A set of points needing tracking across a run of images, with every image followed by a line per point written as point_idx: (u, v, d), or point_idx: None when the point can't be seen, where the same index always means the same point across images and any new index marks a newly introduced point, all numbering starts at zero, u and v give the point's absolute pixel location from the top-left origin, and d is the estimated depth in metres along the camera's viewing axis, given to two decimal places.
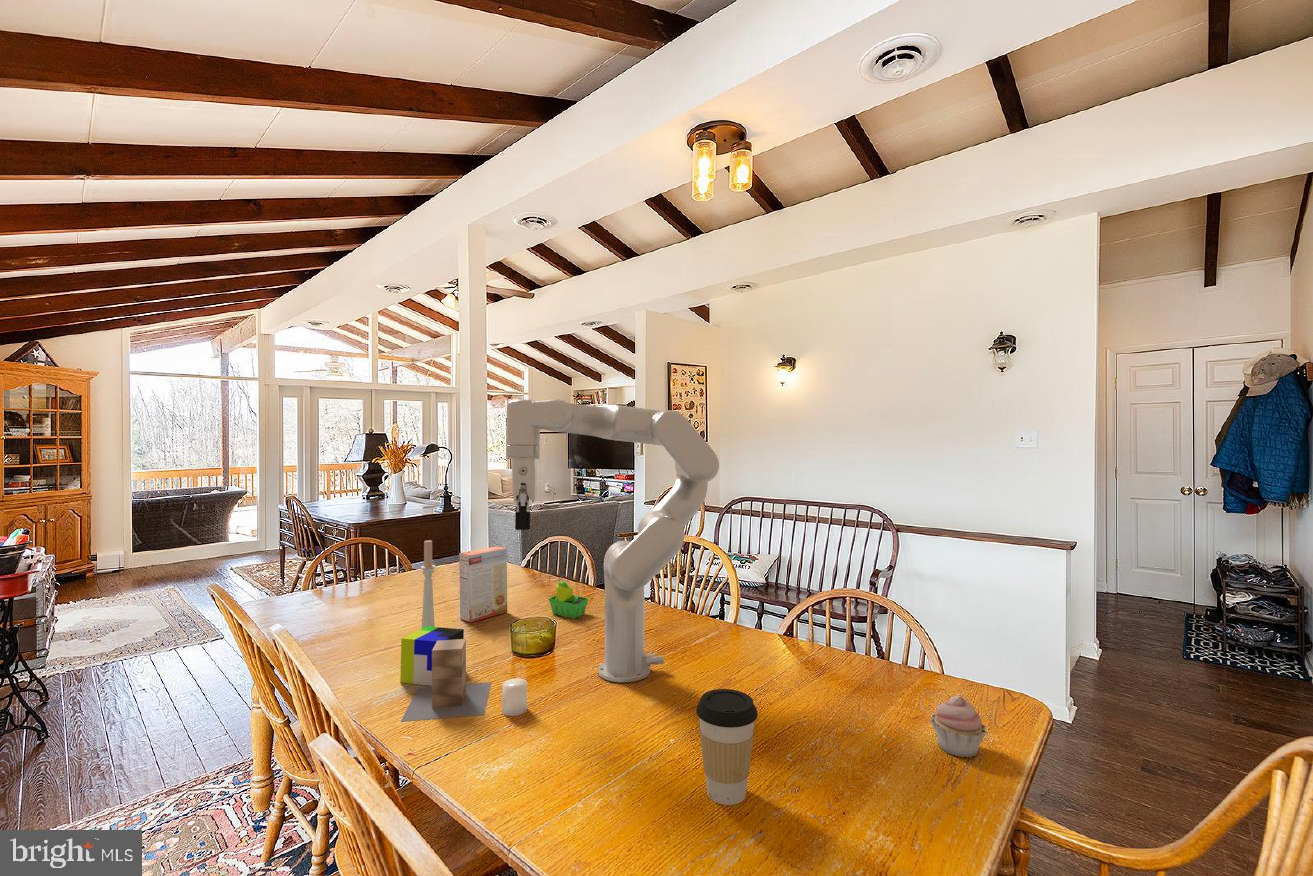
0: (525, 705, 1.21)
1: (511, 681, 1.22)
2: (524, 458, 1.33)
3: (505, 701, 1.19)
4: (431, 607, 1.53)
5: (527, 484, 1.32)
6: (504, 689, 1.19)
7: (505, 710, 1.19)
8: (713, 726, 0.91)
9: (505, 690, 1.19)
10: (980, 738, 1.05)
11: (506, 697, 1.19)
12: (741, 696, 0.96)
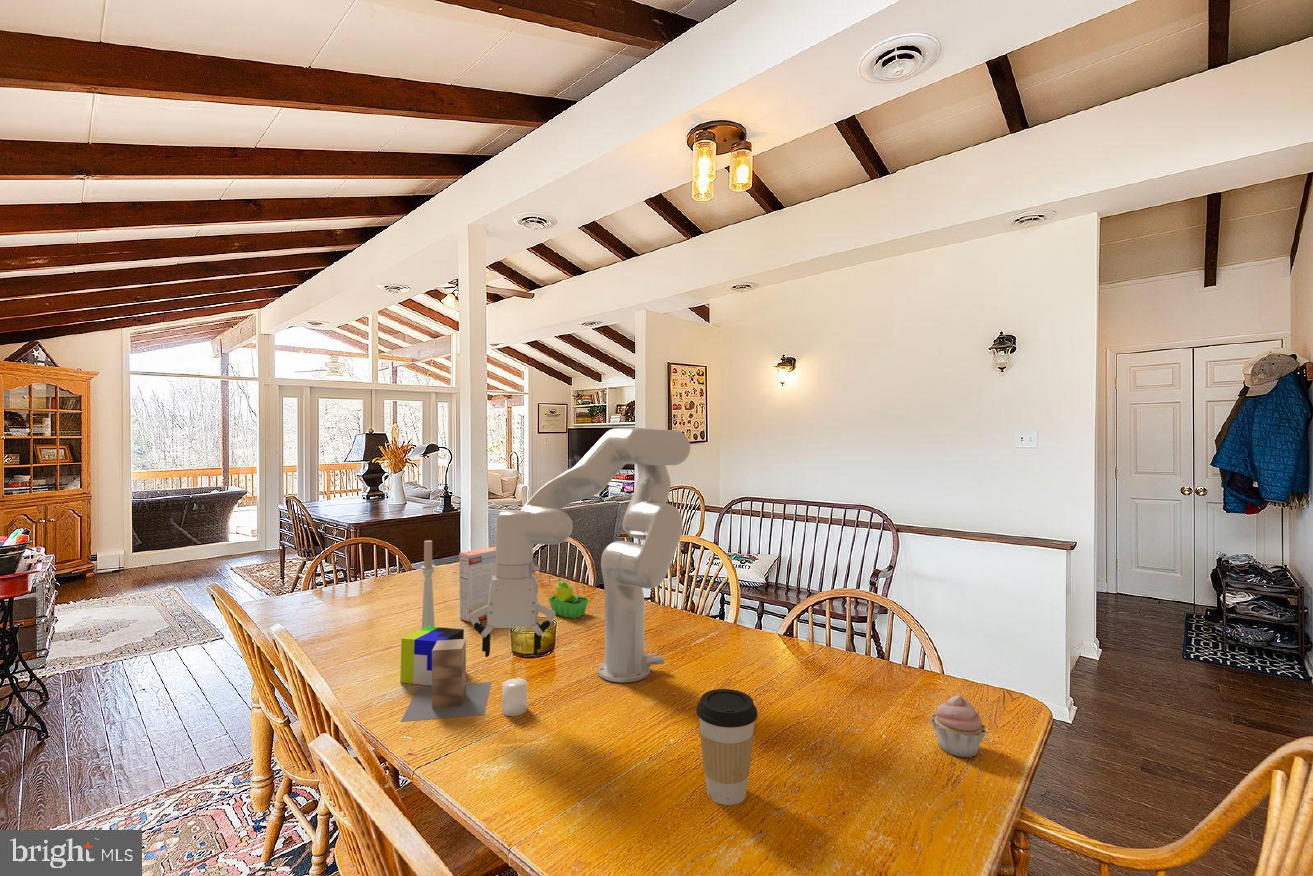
0: (525, 705, 1.21)
1: (511, 681, 1.22)
2: (532, 575, 1.22)
3: (505, 701, 1.19)
4: (431, 607, 1.53)
5: None
6: (504, 689, 1.19)
7: (505, 710, 1.19)
8: (713, 726, 0.91)
9: (505, 690, 1.19)
10: (980, 738, 1.05)
11: (506, 697, 1.19)
12: (741, 696, 0.96)
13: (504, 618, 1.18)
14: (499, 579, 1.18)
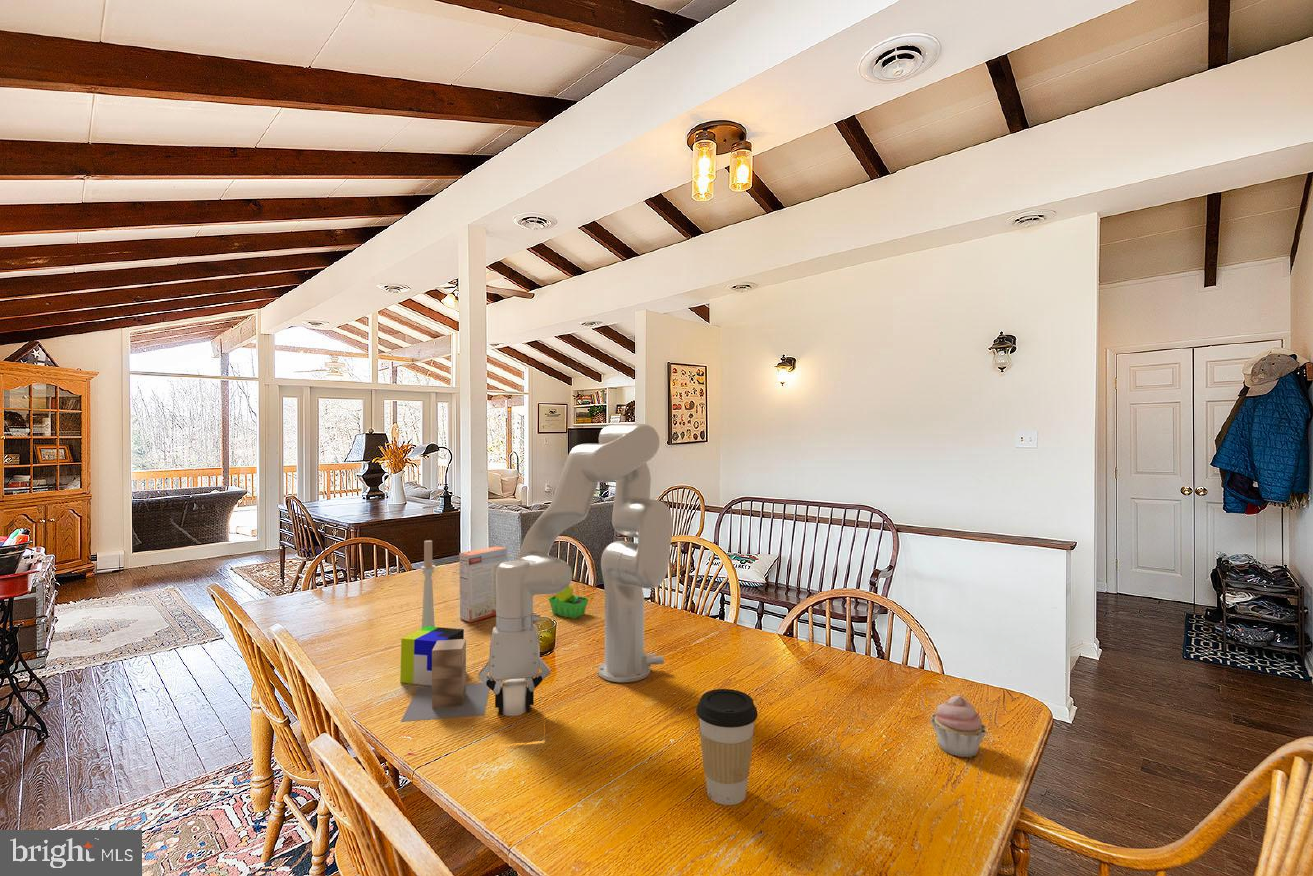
0: (525, 705, 1.21)
1: (511, 681, 1.22)
2: (533, 626, 1.22)
3: (505, 701, 1.19)
4: (431, 607, 1.53)
5: (539, 652, 1.23)
6: (504, 689, 1.19)
7: (505, 710, 1.19)
8: (713, 726, 0.91)
9: (505, 690, 1.19)
10: (980, 738, 1.05)
11: (506, 697, 1.19)
12: (741, 696, 0.96)
13: (506, 671, 1.19)
14: (500, 632, 1.18)
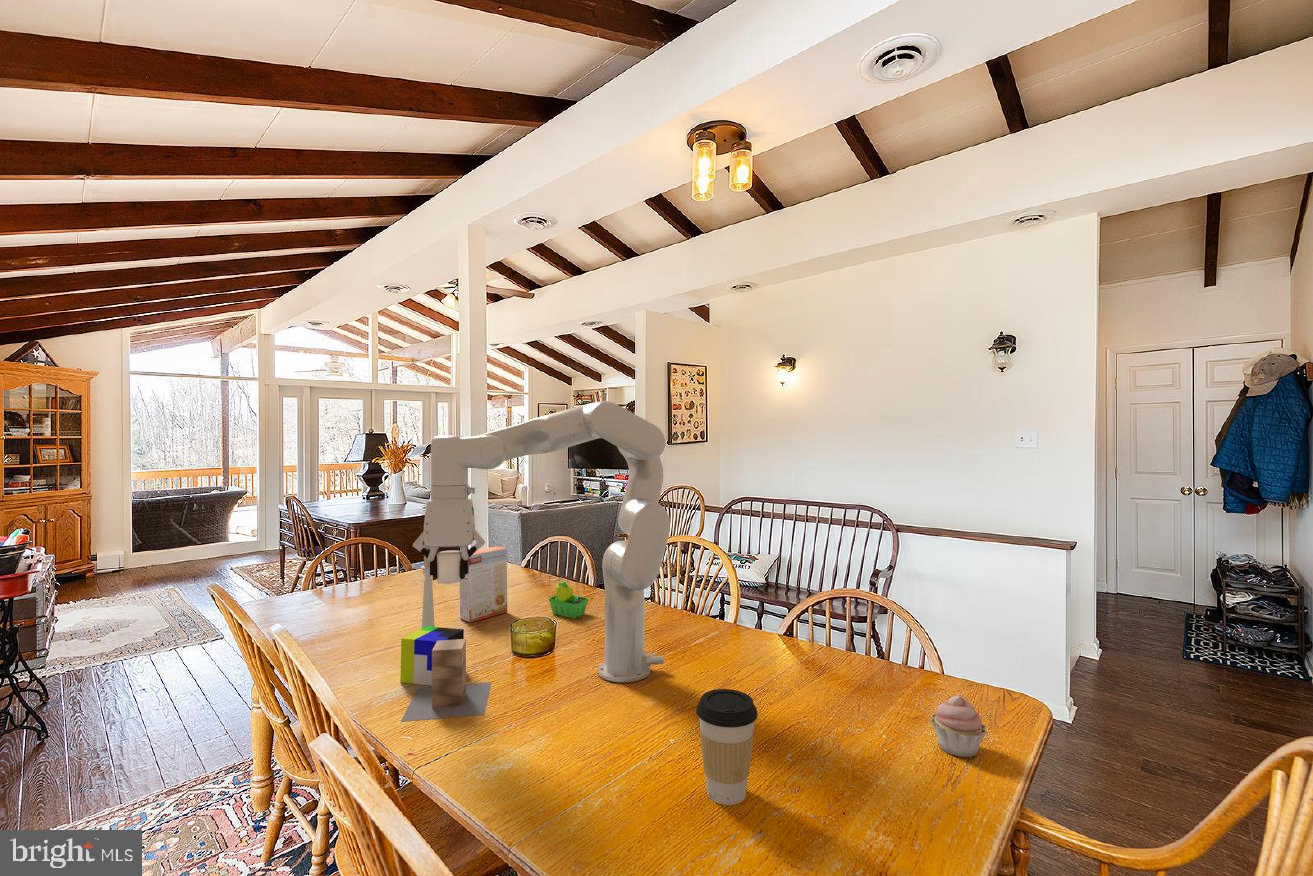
0: (459, 573, 1.25)
1: (446, 551, 1.26)
2: (467, 498, 1.26)
3: (439, 567, 1.23)
4: (431, 607, 1.53)
5: (474, 524, 1.27)
6: (438, 556, 1.23)
7: (439, 576, 1.23)
8: (713, 726, 0.91)
9: (439, 557, 1.23)
10: (980, 738, 1.05)
11: (440, 563, 1.23)
12: (741, 696, 0.96)
13: (440, 538, 1.23)
14: (434, 500, 1.22)
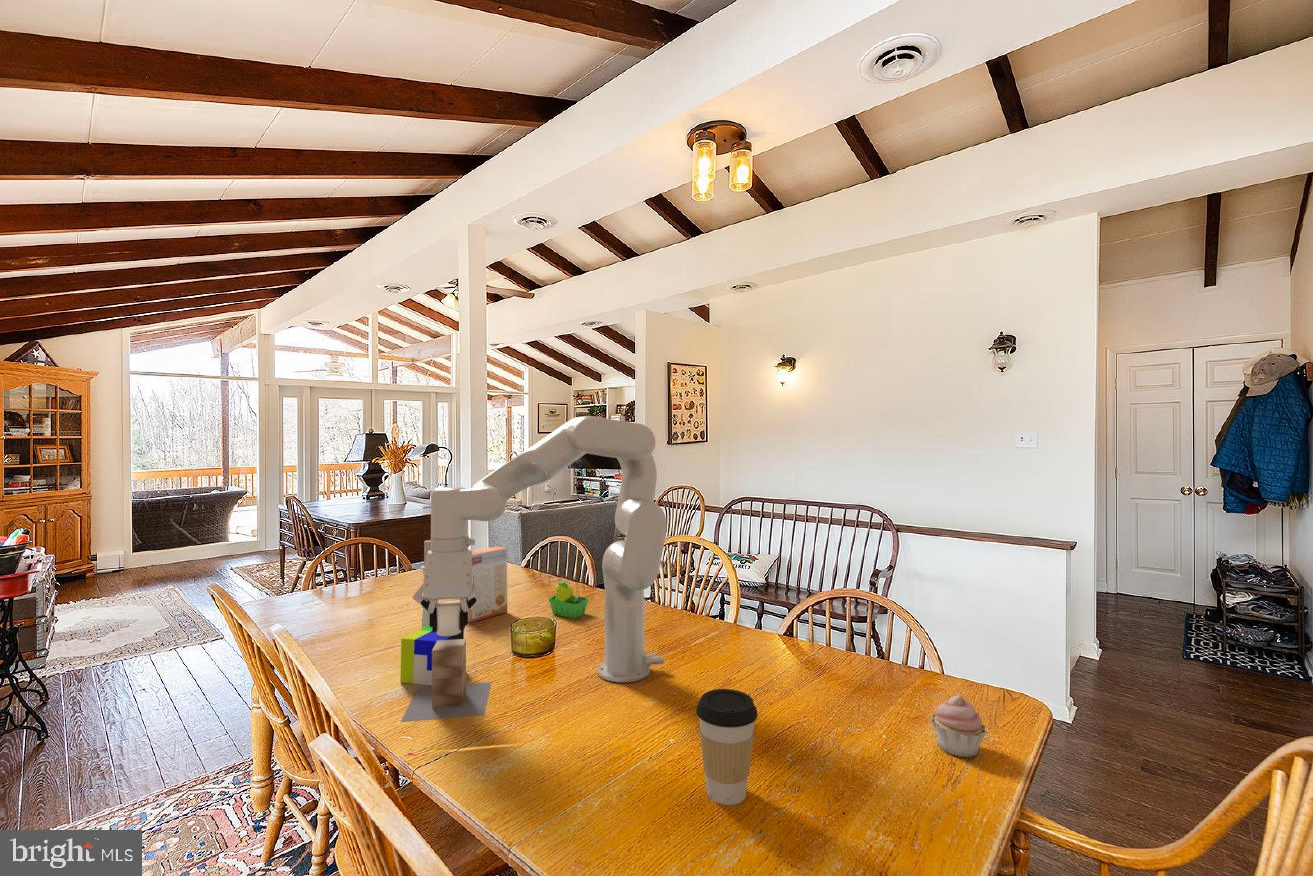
0: (459, 625, 1.25)
1: (446, 602, 1.26)
2: (467, 549, 1.26)
3: (439, 620, 1.23)
4: None
5: (474, 575, 1.27)
6: (438, 608, 1.23)
7: (439, 629, 1.23)
8: (713, 726, 0.91)
9: (439, 609, 1.23)
10: (980, 738, 1.05)
11: (440, 616, 1.23)
12: (741, 696, 0.96)
13: (440, 590, 1.23)
14: (434, 553, 1.22)
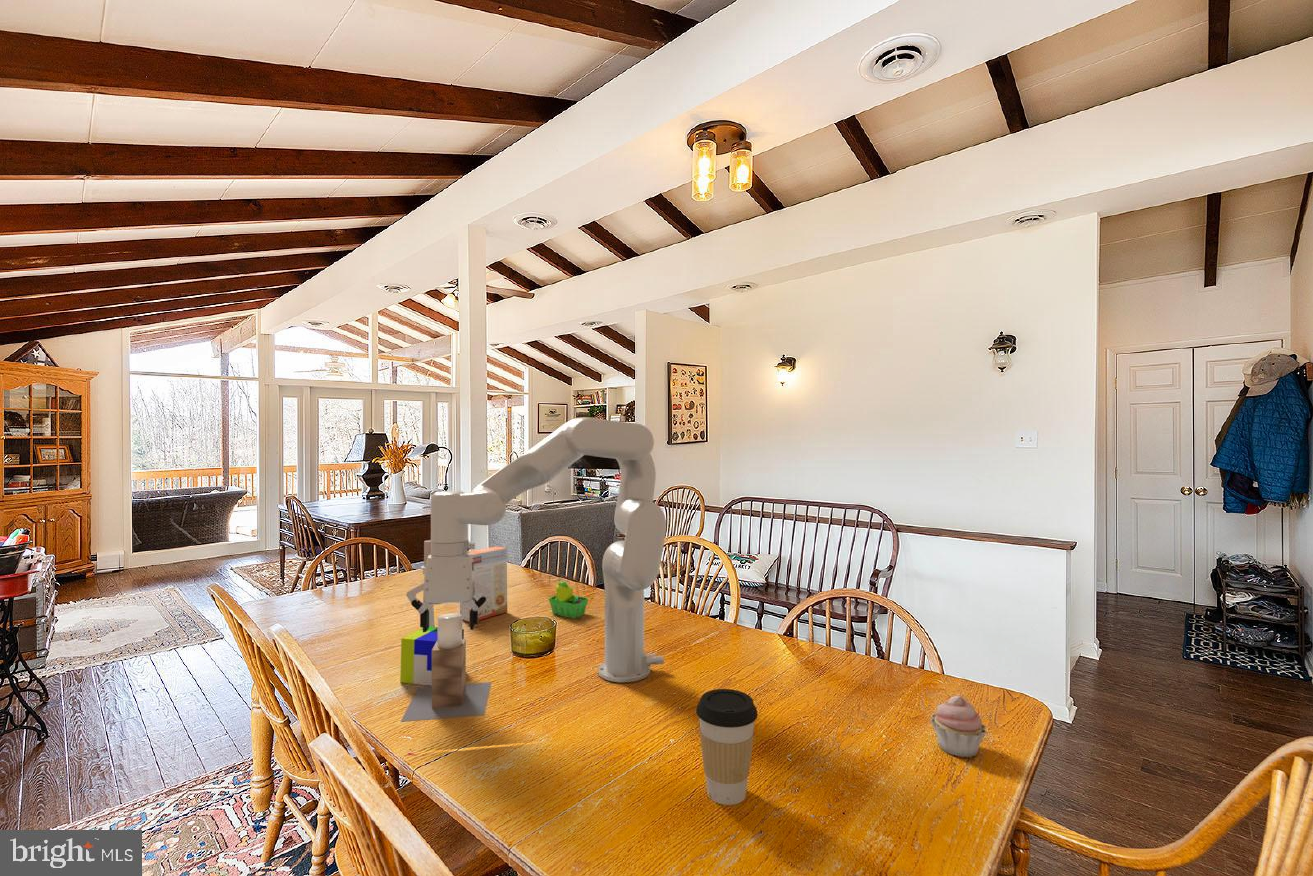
0: (460, 637, 1.25)
1: (447, 615, 1.26)
2: (467, 553, 1.26)
3: (439, 632, 1.23)
4: (431, 607, 1.53)
5: (474, 579, 1.27)
6: (439, 621, 1.24)
7: (440, 641, 1.23)
8: (713, 726, 0.91)
9: (440, 622, 1.23)
10: (980, 738, 1.05)
11: (441, 628, 1.23)
12: (741, 696, 0.96)
13: (440, 595, 1.23)
14: (434, 557, 1.22)
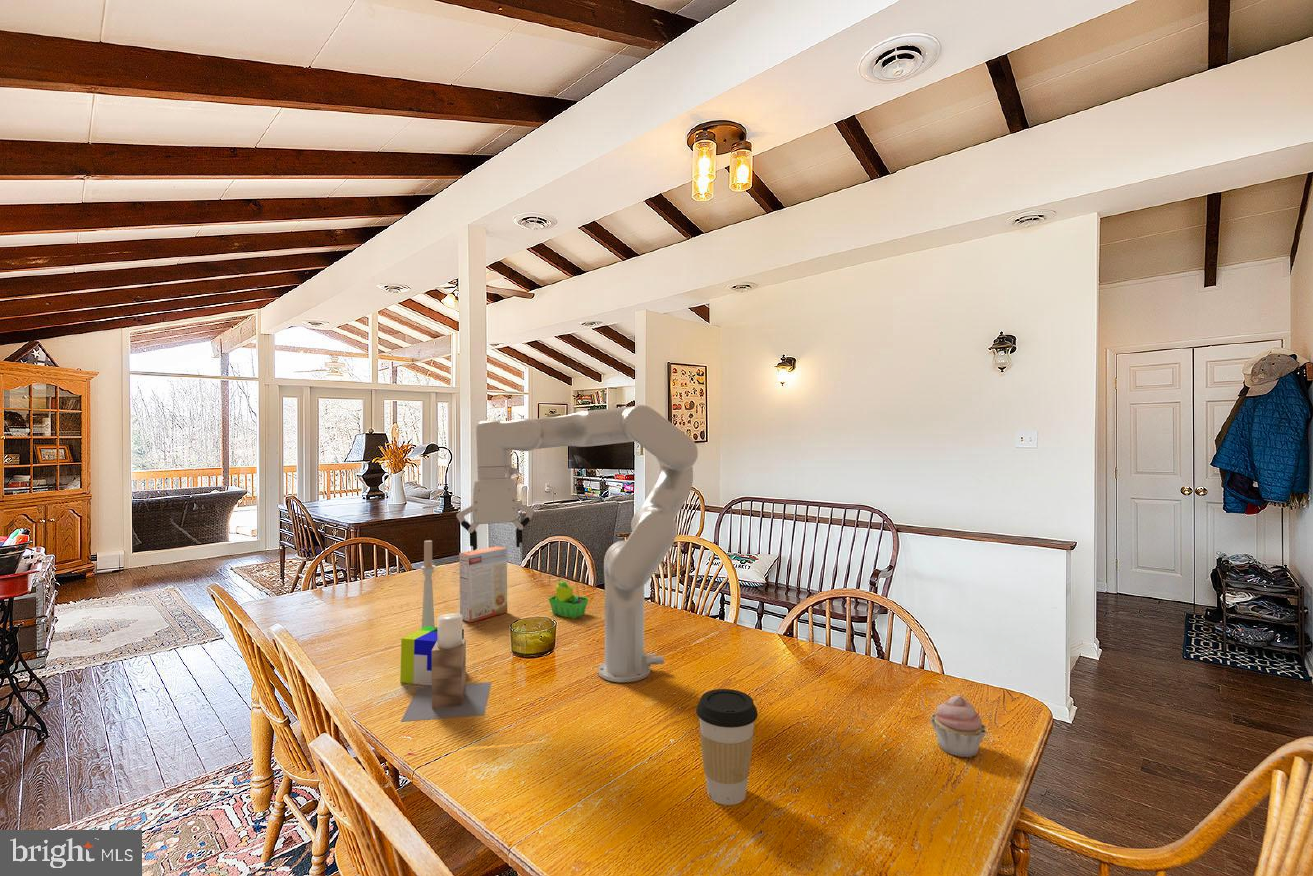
0: (460, 637, 1.25)
1: (447, 615, 1.26)
2: None
3: (439, 632, 1.23)
4: (431, 607, 1.53)
5: None
6: (439, 621, 1.24)
7: (440, 641, 1.23)
8: (713, 726, 0.91)
9: (440, 622, 1.23)
10: (980, 738, 1.05)
11: (441, 628, 1.23)
12: (741, 696, 0.96)
13: (488, 515, 1.33)
14: (481, 480, 1.32)
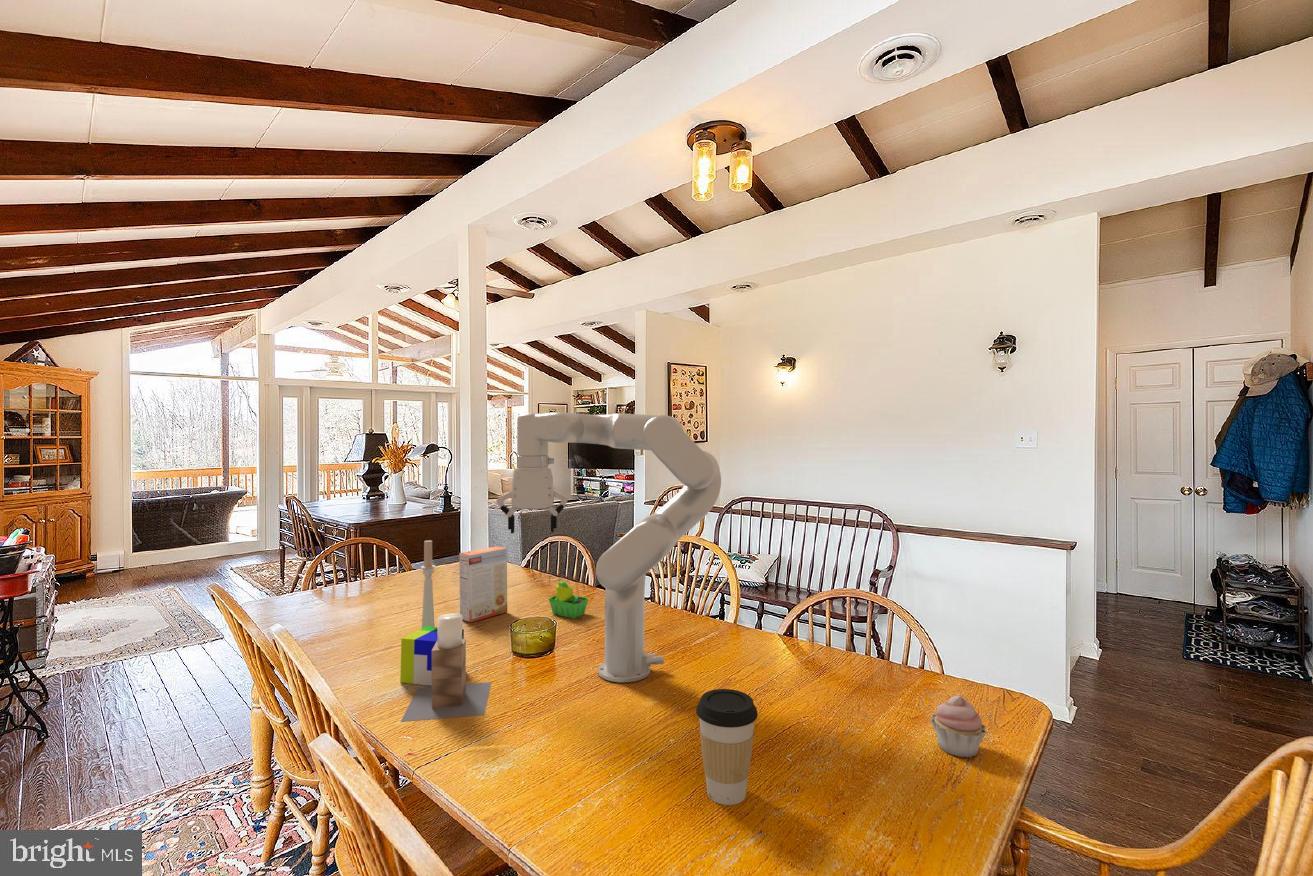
0: (460, 637, 1.25)
1: (447, 615, 1.26)
2: None
3: (439, 632, 1.23)
4: (431, 607, 1.53)
5: None
6: (439, 621, 1.24)
7: (440, 641, 1.23)
8: (713, 726, 0.91)
9: (440, 622, 1.23)
10: (980, 738, 1.05)
11: (441, 628, 1.23)
12: (741, 696, 0.96)
13: (526, 501, 1.43)
14: (521, 468, 1.42)
